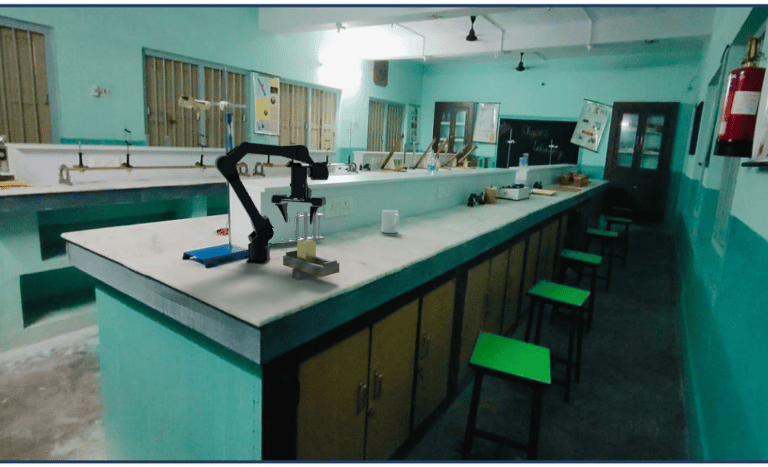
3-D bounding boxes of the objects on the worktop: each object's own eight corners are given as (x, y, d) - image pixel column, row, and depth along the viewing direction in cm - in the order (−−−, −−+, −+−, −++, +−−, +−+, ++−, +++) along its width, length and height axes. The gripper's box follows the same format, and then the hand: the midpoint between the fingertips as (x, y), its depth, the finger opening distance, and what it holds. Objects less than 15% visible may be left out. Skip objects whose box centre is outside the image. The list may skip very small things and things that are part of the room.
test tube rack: (319, 237, 201) (319, 208, 198) (324, 239, 197) (324, 209, 195) (267, 243, 185) (266, 211, 183) (271, 245, 182) (271, 213, 179)
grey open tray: (281, 274, 143) (281, 253, 142) (302, 268, 150) (302, 248, 149) (319, 287, 133) (320, 264, 131) (340, 280, 140) (341, 259, 138)
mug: (378, 230, 221) (379, 209, 219) (392, 229, 225) (393, 209, 222) (390, 235, 210) (391, 213, 208) (404, 234, 214) (405, 213, 212)
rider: (297, 262, 141) (297, 240, 140) (307, 260, 145) (307, 239, 143) (305, 264, 139) (305, 243, 137) (315, 262, 142) (315, 241, 141)
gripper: (330, 180, 165) (329, 221, 168) (282, 177, 167) (282, 218, 170) (321, 182, 154) (321, 226, 157) (270, 179, 156) (270, 223, 159)
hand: (298, 223), depth 161 cm, fingers open, 9 cm apart
